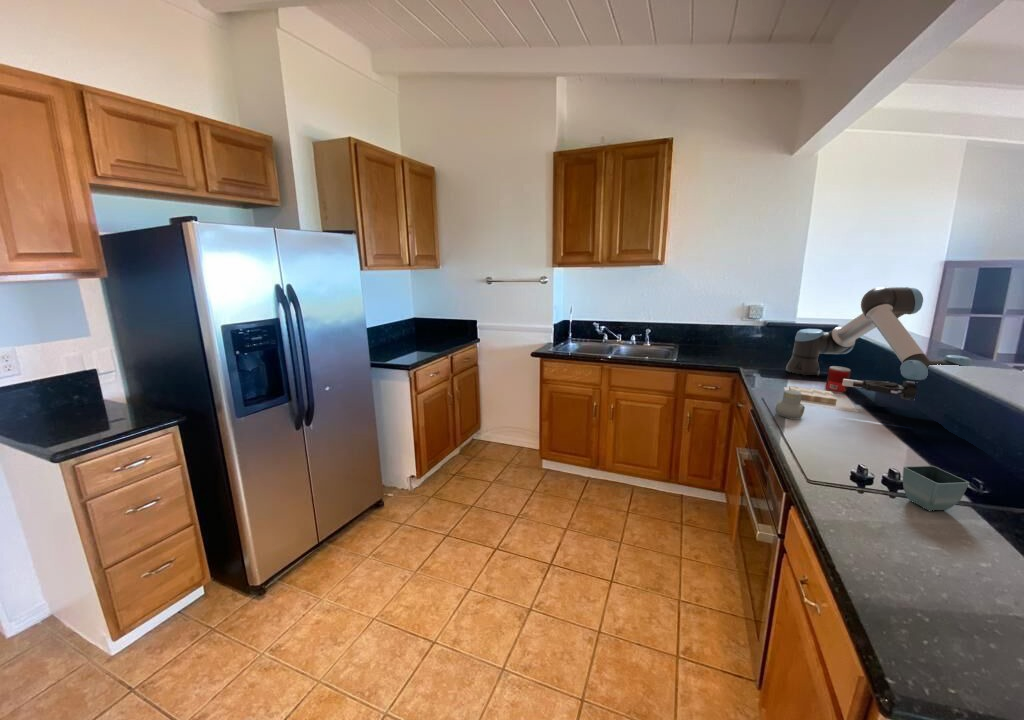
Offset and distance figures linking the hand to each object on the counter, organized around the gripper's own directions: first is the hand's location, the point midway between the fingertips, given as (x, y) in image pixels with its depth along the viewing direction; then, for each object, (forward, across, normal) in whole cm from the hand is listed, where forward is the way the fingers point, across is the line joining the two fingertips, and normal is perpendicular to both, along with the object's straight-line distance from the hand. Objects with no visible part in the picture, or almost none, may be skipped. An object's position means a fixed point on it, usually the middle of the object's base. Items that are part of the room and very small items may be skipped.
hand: (843, 382), depth 182 cm
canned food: (-2, +21, -10) cm, 23 cm away
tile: (+2, 0, -8) cm, 8 cm away
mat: (+8, 0, -9) cm, 12 cm away
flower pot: (-6, -85, -10) cm, 85 cm away
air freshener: (+20, -30, -10) cm, 37 cm away
